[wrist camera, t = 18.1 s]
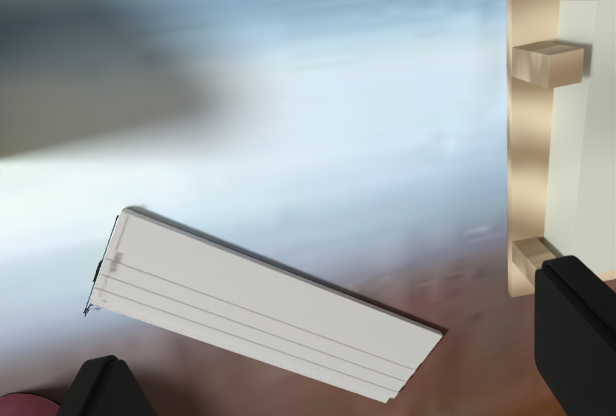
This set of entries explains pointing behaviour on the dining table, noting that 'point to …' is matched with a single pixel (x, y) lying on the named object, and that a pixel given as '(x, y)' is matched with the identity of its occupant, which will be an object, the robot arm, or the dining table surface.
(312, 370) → the baseboard molding
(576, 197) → the clay strip
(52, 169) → the dining table surface
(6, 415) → the plant pot
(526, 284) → the beech rack
